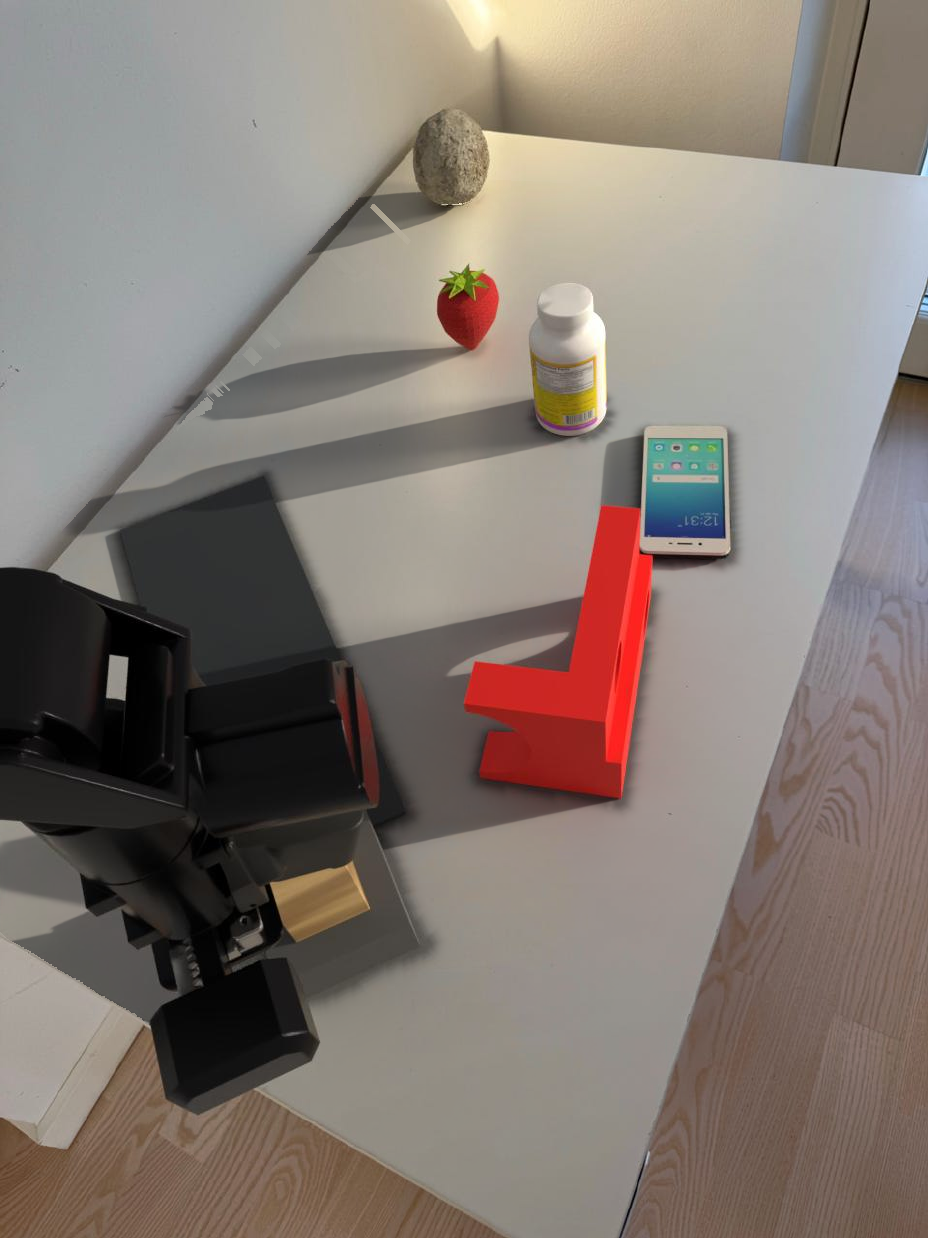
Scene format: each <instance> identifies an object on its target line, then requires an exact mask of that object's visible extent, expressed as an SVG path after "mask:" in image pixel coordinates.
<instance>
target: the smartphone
mask: <svg viewBox="0 0 928 1238" xmlns="http://www.w3.org/2000/svg"><path fill="white" fill-rule="evenodd" d="M728 444H729V443H728V429H727V428H726V427H724V426H721V425H648V426H647V427H645V428H644V431H643V457H642V479H641V503H640V506H639V508H641V509H640V542H639V554H643V555H653V558H665V559H667V558H668V559H669V558H670V559H702V560H703V559H705V560H706V559H707V560H711V559H712V560H724V559H726V558H728V557H729V556H730V552H731V529H732V522H731V508H730V484H729V483H730V482H729V481H730V479H729V448H728V447H729V445H728Z"/></svg>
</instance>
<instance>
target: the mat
mask: <svg viewBox="0 0 928 1238" xmlns="http://www.w3.org/2000/svg"><path fill="white" fill-rule="evenodd" d="M119 532H120V536H121V541H122V544H123V548H124V551H125V555H126V560H127V563H128V566H129V570H130V573H131V576H132V581H133V584H134V588H135V592H136V595H137V600H138V603H139V606H143V607H147V612H148V613H150V614H153V615H155V616H158V617H160V618H163V619H166V620H168V621H171V622H173V623H176V624H178V625H181V626H183V627H186V628H188V629H190V630H191V631H192V666H193V668H194V669H195V671H196V672H197V674H198V676H199V677H200V679H201V680H202V681H203V683H204V684H205V685H206V686H208V685H213V684H218V683H223V682H228V681H232V680H237V679H242V678H247V677H252V676H257V675H262V674H267V673H271V672H275V671H279V670H281V669H284V668H287V667H290V666H292V665H296V664H300V663H304V662H309V661H314V660H319V659H324V658H326V659H330V660H332V661H333V662H337V661H342V657H341V655H340V652H339V650H338V648H337V646H336V643H335V641H334V639H333V636H332V634H331V631H330V629H329V626H328V624H327V622H326V619H325V617H324V615H323V612H322V610H321V608H320V605H319V603H318V600H317V598H316V595H315V592H314V591H313V589H312V586H311V584H310V582H309V579H308V576H307V574H306V572H305V569H304V567H303V565H302V562H301V560H300V558H299V555H298V553H297V551H296V548H295V546H294V543H293V541H292V538H291V536H290V534H289V531H288V529H287V527H286V524H285V523H284V520H283V517H282V515H281V512H280V510H279V508H278V506H277V503H276V500H275V499H274V496H273V493H272V491H271V489H270V487H269V484H268V482H267V480H266V477H265V475H261V476H259V477H256V478H254V479H251V480H249V481H246V482H243V483H240V484H238V485H235V486H233V487H230V488H227V489H225V490H222V491H219V492H217V493H214V494H211V495H209V496H205V497H203V498H200V499H198V500H195V501H193V502H190V503H187V504H185V505H181V506H180V507H179V506H178V507H176V508H174V509H171V510H168V511H165V512H163V513H161V514H158V515H155V516H153V517H150V518H147V519H145V520H142V521H140V522H137V523H133V524H132V525H129V526H125V527H123V528H121V529H119ZM373 738H374V743H375V750H376V757H377V764H378V774H379V802H378V805H377V807H376V808H370V809H366V811H367V814H368V816H369V818H370V820H371V822H372V825H373V827H374V828H376V827H378V826H381V825H384V824H385V823H388V822H390V821H393V820H394V819H398V818H399V817H401V816H404V815H406V814H407V811H406V809H405V807H404V805H403V802H402V800H401V797H400V795H399V793H398V790H397V788H396V785H395V783H394V781H393V778H392V776H391V774H390V771H389V769H388V766H387V764H386V762H385V760H384V757H383V755H382V752H381V750H380V748H379V745H378V742H377V740H376V738H375V735H374V734H373Z"/></svg>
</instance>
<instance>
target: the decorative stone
mask: <svg viewBox="0 0 928 1238" xmlns="http://www.w3.org/2000/svg"><path fill="white" fill-rule="evenodd" d="M488 147H489V145H488V142H487V139H486V136H485V134H484V132H483V130H482V128H481V126H480V125H479V124H478V123H477V122H476V120H474V119H473V118H472V117H471V116H470V115H468V114H467V113H466V112H465V111H464V110H462V109H460V108H457V107H454V108H453V107H450V108H448V107H447V108H443V109H442V110H440V111H438V112H437V113H435V114H433V115H431V116H430V117H428V118H427V119H426V120H425V121H424V122H423V123H422V124H421V126H420V127H419V129H418V130H417V136H416V139H415V142H414V145H413V147H412V169H413V173H414V178H415V179H414V180H415V182H416V184H417V187H418V189H419V191H420V192H421V193H422V194H423V195H424V196H425V197H426V198H427V199H428V200H429V201H432V202H433V203H434V202H435V204H436V203H437V204H436V205H438V204H448V205H452V204H459V203H462V204H463V203H465V202H468V201H469V202H471V201H472V200H473V199H475V198H476V197H477V195H478V194H479V193H480V192H481V191H482V189H483V187H484V185H485V182H486V180H487V178H488V174H489V173H488V170H489V168H490V167H489V166H490V161H491V159H490V151H489V148H488ZM471 199H472V200H471ZM470 200H471V201H470ZM469 202H468V203H469ZM464 205H465V204H463V205H453V206H452V207H460V206H464ZM440 206H441V207H447V206H446V205H440Z"/></svg>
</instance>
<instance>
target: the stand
mask: <svg viewBox="0 0 928 1238" xmlns="http://www.w3.org/2000/svg"><path fill="white" fill-rule="evenodd" d="M352 861H353V864H354V867H355V869H356V872H357V875H358V877H359V880H360V883H361V886H362V888H363V891H364V894H365V896H366V899H367V902H368V904H369V907H370V910H368V911H366V912H364V913H361V914H359V915H357V916H355V917H352V918H350V919H348V920H346V921H343V922H341V923H339V924H337V925H335V926H332V927H330V928H328V929H326V930H323V931H321V932H319V933H317V934H315V935H312V936H310V937H308V938H306V939H303V940H301V941H299V942H295V940H294V939H293V938H292V936H291V935H290V934H289V932H288V931H287V930H286V928H285V927H284V926H283V927H284V930H283V935H282V937H281V939H280V940H279V941H278V943H277V944H276V945H275V946H274V947H273V948H271V949H270V950H268V951H266V952H264V955H265V957H266V958H265V959H273V958H283V957H286V958H287V959H288V960H289V961H290V962H291V963H292V964H293V966H294V968H295V971H296V973H297V975H298V977H299V979H300V981H301V984H302V986H303V989H304V992H305V995H306V998H307V999H308V998H310V997H312V996H314V995H316V994H319V993H321V992H323V991H325V990H328V989H329V988H331V987H333V986H336V985H338V984H340V983H342V982H345V981H347V980H350V979H351V978H353V977H356V976H358V975H361V974H363V973H365V972H367V971H369V970H372V969H374V968H375V967H378V966H380V965H382V964H384V963H386V962H388V961H390V960H393V959H396V958H397V957H399V956H401V955H404V954H406V953H408V952H410V951H412V950H415V949H417V948H420V947H421V943H420V940H419V938H418V935H417V933H416V930H415V928H414V925H413V923H412V920H411V917H410V915H409V912H408V910H407V908H406V905H405V902H404V900H403V897H402V895H401V893H400V890H399V887H398V885H397V882H396V879H395V877H394V875H393V872H392V869H391V867H390V864H389V862H388V858H387V857H386V854H385V852H384V848H383V847H382V843H381V842H380V839H379V837H378V834H377V831H376V828H375V827H373V825H372V822H371V820H370V818H369V816H368V814H367V811H366V809H365V810H364V818H363V823H362V828H361V833H360V837H359V842H358V847H357V852H356V855H355V857H354V859H353V860H352Z"/></svg>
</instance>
